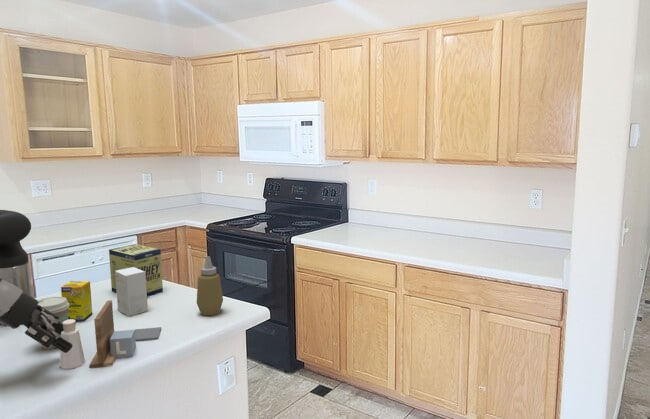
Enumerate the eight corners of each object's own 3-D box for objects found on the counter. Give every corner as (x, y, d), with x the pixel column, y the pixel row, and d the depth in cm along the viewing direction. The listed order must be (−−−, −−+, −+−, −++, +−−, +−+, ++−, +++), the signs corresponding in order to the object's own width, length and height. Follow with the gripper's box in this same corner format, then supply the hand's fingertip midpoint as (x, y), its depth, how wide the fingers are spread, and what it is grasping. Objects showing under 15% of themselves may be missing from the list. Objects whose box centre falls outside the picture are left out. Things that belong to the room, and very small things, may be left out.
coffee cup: (48, 337, 129) (44, 295, 127) (79, 337, 129) (75, 295, 127) (28, 351, 120) (23, 307, 118) (60, 352, 120) (56, 307, 118)
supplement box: (63, 322, 139) (60, 286, 137) (73, 314, 145) (70, 280, 143) (83, 322, 139) (80, 286, 138) (93, 314, 145) (90, 280, 143)
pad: (130, 341, 126) (130, 339, 126) (135, 331, 133) (135, 329, 133) (158, 339, 127) (158, 337, 127) (161, 329, 134) (161, 327, 134)
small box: (148, 311, 148) (145, 271, 146) (128, 316, 143) (125, 275, 141) (136, 304, 153) (134, 266, 151) (117, 310, 149) (114, 270, 147)
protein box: (138, 300, 158) (135, 255, 155) (110, 291, 166) (107, 249, 164) (164, 291, 166) (161, 249, 164) (136, 284, 175) (134, 243, 172)
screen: (89, 367, 112) (85, 320, 110) (102, 344, 124) (99, 301, 122) (112, 365, 113) (108, 318, 111) (122, 342, 125) (119, 299, 124)
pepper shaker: (54, 367, 112) (50, 323, 111) (74, 357, 117) (70, 315, 116) (71, 371, 110) (67, 327, 109) (90, 361, 115) (86, 318, 114)
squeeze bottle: (204, 319, 141) (202, 261, 138) (192, 312, 147) (189, 256, 144) (228, 312, 146) (226, 256, 143) (215, 305, 152) (213, 252, 149)
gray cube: (111, 358, 116) (109, 339, 116) (115, 349, 121) (114, 331, 121) (132, 356, 117) (131, 337, 117) (136, 347, 122) (134, 329, 122)
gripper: (0, 306, 111) (59, 343, 118) (-11, 328, 98) (57, 367, 105) (24, 282, 113) (82, 319, 119) (17, 300, 100) (81, 341, 107)
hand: (70, 342), depth 112 cm, fingers open, 8 cm apart
